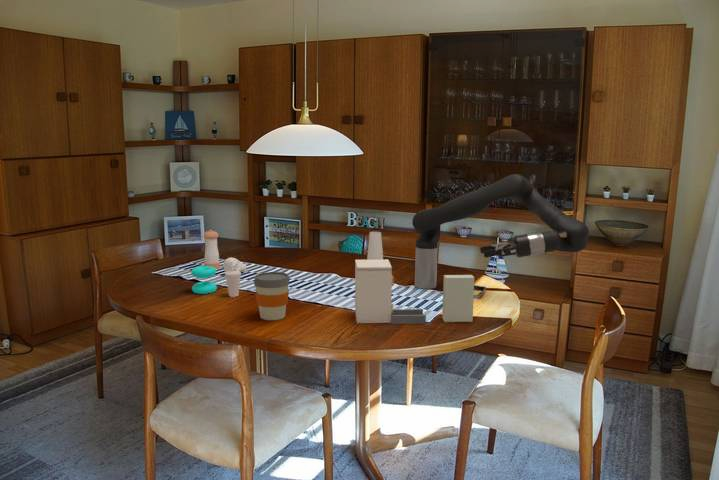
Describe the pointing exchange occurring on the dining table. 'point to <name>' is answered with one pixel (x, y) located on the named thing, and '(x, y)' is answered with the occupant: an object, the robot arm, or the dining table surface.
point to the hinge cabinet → (379, 295)
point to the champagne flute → (375, 246)
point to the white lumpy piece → (234, 265)
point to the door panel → (458, 298)
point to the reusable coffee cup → (272, 294)
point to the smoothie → (233, 281)
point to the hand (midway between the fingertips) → (482, 252)
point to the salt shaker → (211, 249)
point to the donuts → (204, 286)
